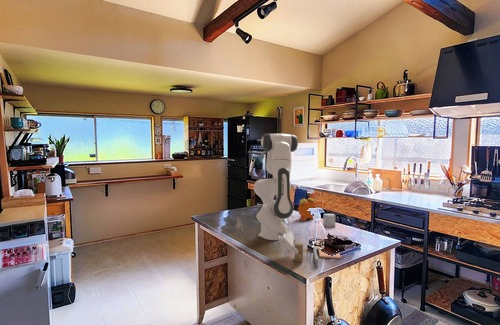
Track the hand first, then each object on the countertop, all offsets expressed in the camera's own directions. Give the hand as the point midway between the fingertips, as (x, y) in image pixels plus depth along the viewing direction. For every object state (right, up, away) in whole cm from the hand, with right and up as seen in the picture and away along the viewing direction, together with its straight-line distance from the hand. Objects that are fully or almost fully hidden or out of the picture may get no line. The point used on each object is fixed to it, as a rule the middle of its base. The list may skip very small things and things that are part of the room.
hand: (297, 249), depth 149 cm
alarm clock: (+21, 0, +78) cm, 81 cm away
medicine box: (+34, -1, +60) cm, 69 cm away
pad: (+19, -5, +9) cm, 22 cm away
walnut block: (+1, -6, +1) cm, 6 cm away
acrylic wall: (+10, -6, +1) cm, 11 cm away
